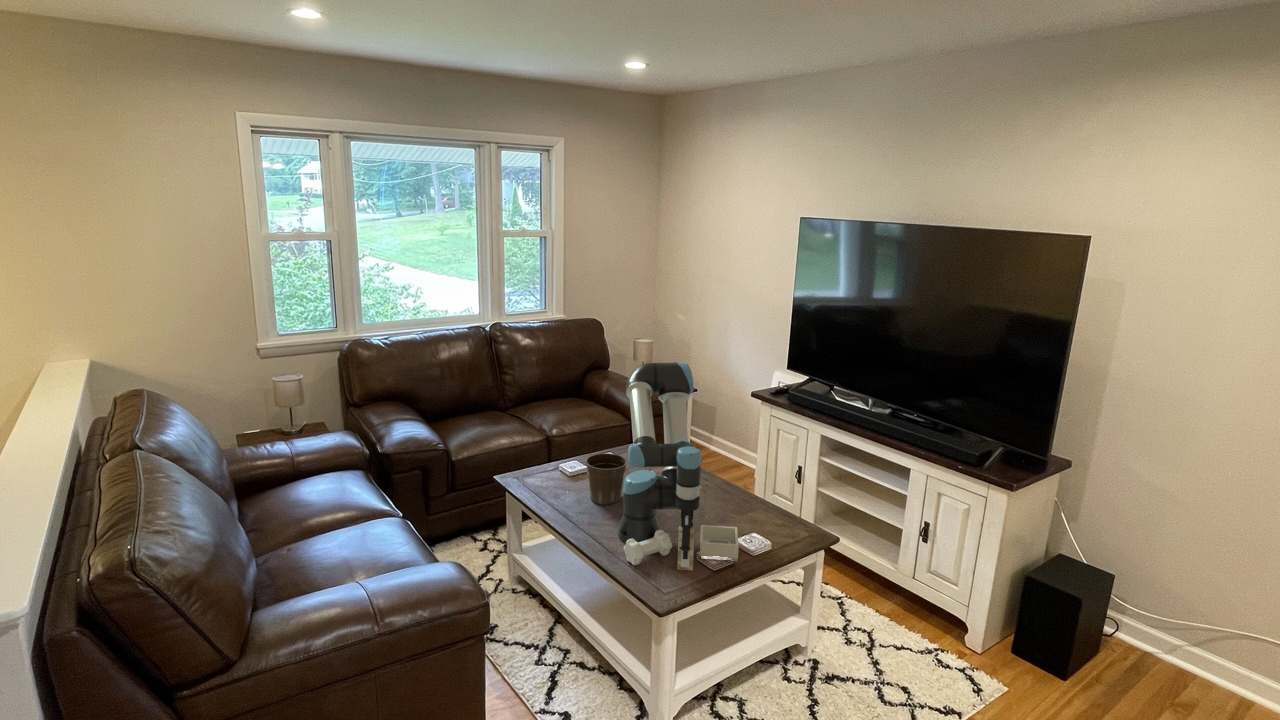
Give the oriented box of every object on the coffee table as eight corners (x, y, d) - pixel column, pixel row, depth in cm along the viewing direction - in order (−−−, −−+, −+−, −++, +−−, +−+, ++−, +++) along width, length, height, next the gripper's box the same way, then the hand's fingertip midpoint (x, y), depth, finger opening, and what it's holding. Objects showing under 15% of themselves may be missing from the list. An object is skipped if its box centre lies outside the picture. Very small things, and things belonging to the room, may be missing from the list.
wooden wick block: (677, 569, 218) (678, 530, 215) (677, 564, 221) (679, 526, 218) (692, 570, 218) (694, 531, 214) (692, 565, 221) (694, 527, 217)
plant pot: (628, 490, 275) (629, 454, 271) (624, 508, 259) (624, 470, 255) (589, 488, 276) (589, 451, 272) (582, 506, 261) (582, 467, 257)
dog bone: (659, 547, 232) (658, 525, 231) (674, 556, 225) (673, 534, 224) (622, 560, 224) (621, 537, 223) (636, 569, 217) (635, 546, 216)
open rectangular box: (699, 559, 224) (700, 543, 223) (700, 540, 237) (700, 524, 235) (737, 561, 223) (738, 545, 222) (736, 542, 235) (737, 527, 234)
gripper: (699, 514, 201) (696, 577, 206) (700, 479, 225) (697, 537, 230) (674, 512, 201) (672, 575, 207) (677, 478, 225) (675, 535, 231)
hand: (685, 555), depth 218 cm, fingers open, 13 cm apart
